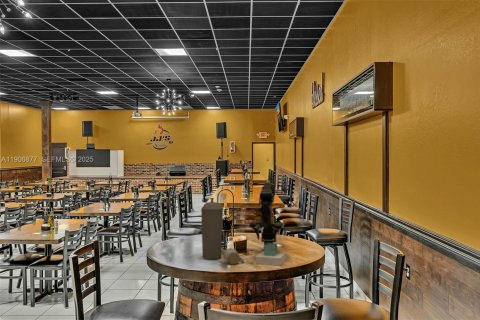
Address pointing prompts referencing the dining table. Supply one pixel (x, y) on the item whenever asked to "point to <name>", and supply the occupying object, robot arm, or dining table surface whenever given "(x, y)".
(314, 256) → the dining table surface
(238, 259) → the ceramic mug
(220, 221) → the canister
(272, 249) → the teal block
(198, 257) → the dining table surface
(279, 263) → the grey base
